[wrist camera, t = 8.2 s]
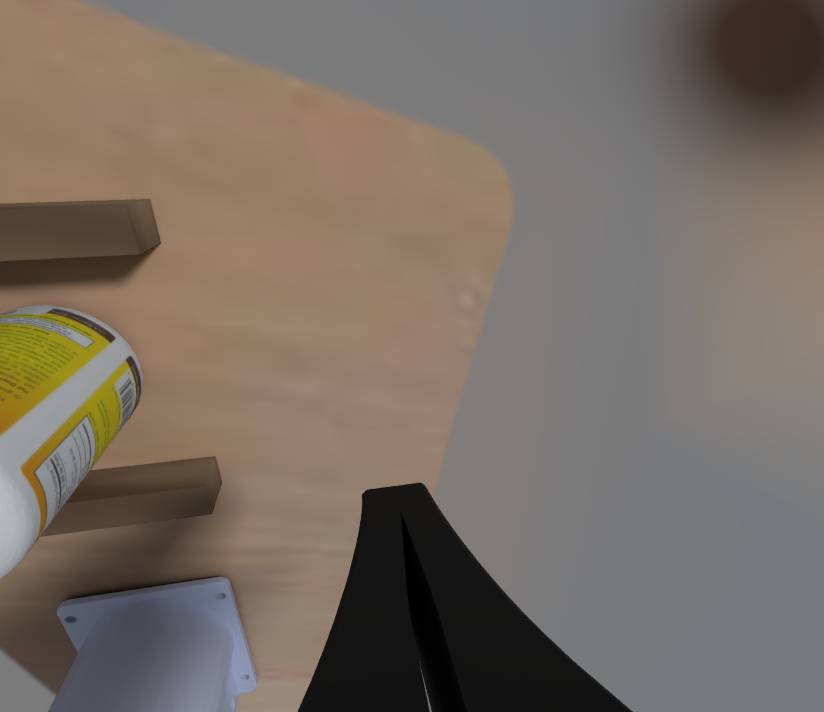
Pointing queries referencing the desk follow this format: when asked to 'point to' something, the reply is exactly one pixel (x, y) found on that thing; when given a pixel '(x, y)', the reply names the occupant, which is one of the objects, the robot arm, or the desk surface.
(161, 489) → the wooden u-shaped block
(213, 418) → the desk surface
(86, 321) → the supplement bottle
